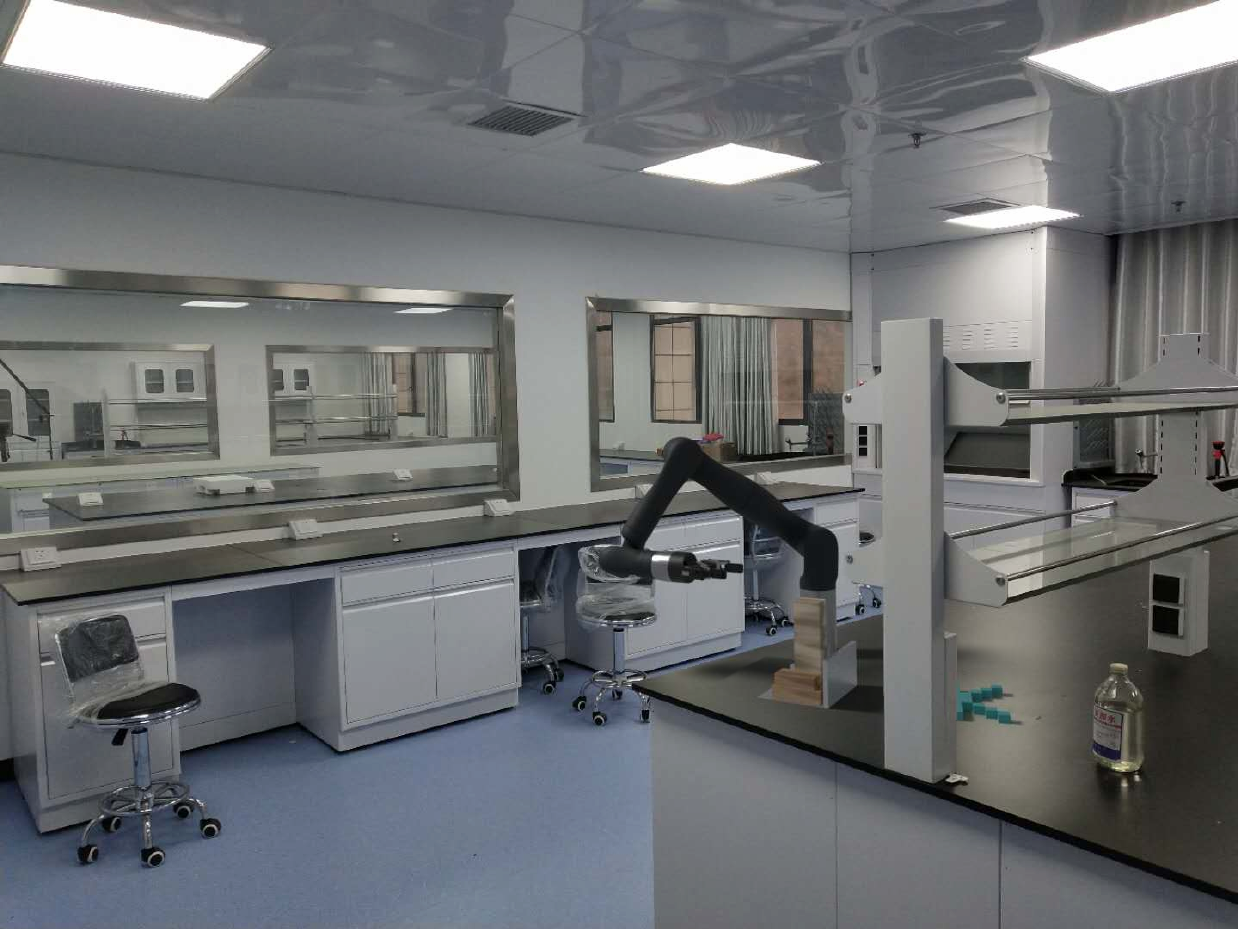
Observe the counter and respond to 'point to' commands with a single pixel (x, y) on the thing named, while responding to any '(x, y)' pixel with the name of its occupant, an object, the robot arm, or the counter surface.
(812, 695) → the block
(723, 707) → the counter surface
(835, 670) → the board rack
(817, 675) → the upper offcut
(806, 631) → the plywood board
